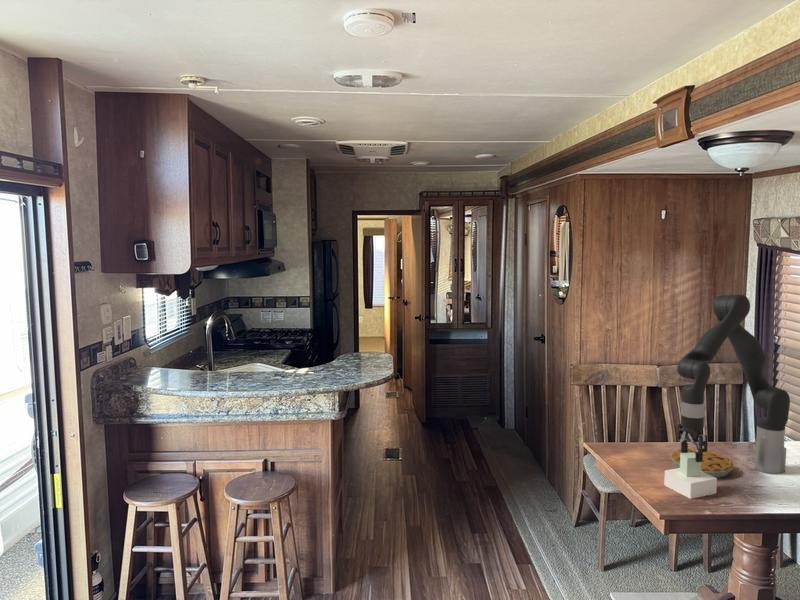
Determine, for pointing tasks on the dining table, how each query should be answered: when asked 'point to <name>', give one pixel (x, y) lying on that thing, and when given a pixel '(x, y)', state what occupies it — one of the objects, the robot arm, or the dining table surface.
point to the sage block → (689, 465)
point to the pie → (709, 463)
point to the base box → (690, 483)
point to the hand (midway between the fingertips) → (691, 457)
